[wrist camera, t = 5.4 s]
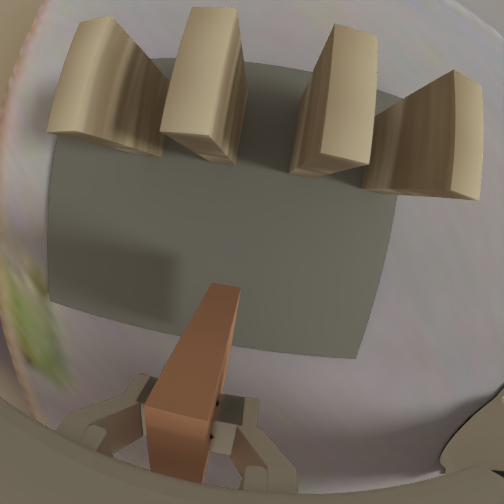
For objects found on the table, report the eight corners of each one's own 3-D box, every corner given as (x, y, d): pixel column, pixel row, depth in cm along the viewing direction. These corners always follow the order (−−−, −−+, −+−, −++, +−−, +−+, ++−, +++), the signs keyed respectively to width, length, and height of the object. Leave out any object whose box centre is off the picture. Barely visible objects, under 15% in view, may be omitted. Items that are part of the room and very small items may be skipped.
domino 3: (322, 107, 17) (377, 36, 7) (312, 178, 18) (368, 164, 8) (299, 102, 17) (334, 23, 7) (288, 174, 18) (320, 152, 8)
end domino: (241, 287, 16) (208, 421, 6) (228, 363, 17) (198, 503, 7) (212, 282, 16) (144, 404, 6) (202, 358, 17) (154, 493, 7)
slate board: (400, 103, 18) (406, 100, 17) (352, 352, 22) (355, 358, 21) (80, 70, 17) (74, 67, 16) (56, 297, 21) (50, 300, 20)
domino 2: (247, 94, 17) (236, 8, 7) (235, 165, 18) (208, 135, 8) (223, 91, 17) (192, 7, 7) (211, 162, 18) (159, 131, 8)
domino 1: (175, 88, 17) (110, 15, 7) (161, 157, 18) (75, 130, 8) (154, 88, 17) (79, 22, 7) (140, 155, 18) (46, 132, 8)
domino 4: (390, 125, 17) (481, 85, 7) (382, 194, 18) (478, 200, 8) (370, 119, 17) (453, 69, 7) (361, 189, 18) (450, 189, 8)
